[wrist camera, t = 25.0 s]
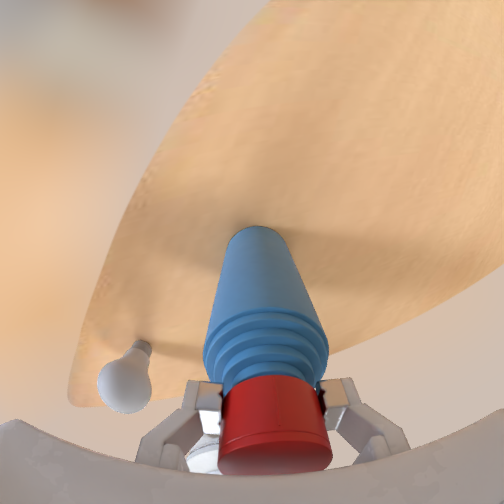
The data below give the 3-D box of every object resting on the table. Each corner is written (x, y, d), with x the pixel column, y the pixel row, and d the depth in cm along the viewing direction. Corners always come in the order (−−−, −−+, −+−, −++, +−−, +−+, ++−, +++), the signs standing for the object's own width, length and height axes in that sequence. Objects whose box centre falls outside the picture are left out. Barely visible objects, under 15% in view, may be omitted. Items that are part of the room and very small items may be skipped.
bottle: (286, 285, 29) (338, 475, 9) (226, 285, 29) (197, 481, 9) (290, 226, 27) (384, 388, 7) (225, 225, 27) (168, 396, 7)
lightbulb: (160, 368, 33) (138, 431, 23) (119, 349, 32) (87, 407, 22) (172, 337, 32) (148, 404, 21) (127, 316, 31) (90, 376, 20)
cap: (219, 371, 9) (212, 439, 7) (326, 370, 10) (346, 433, 7) (224, 430, 11) (220, 485, 8) (309, 429, 11) (319, 481, 8)
